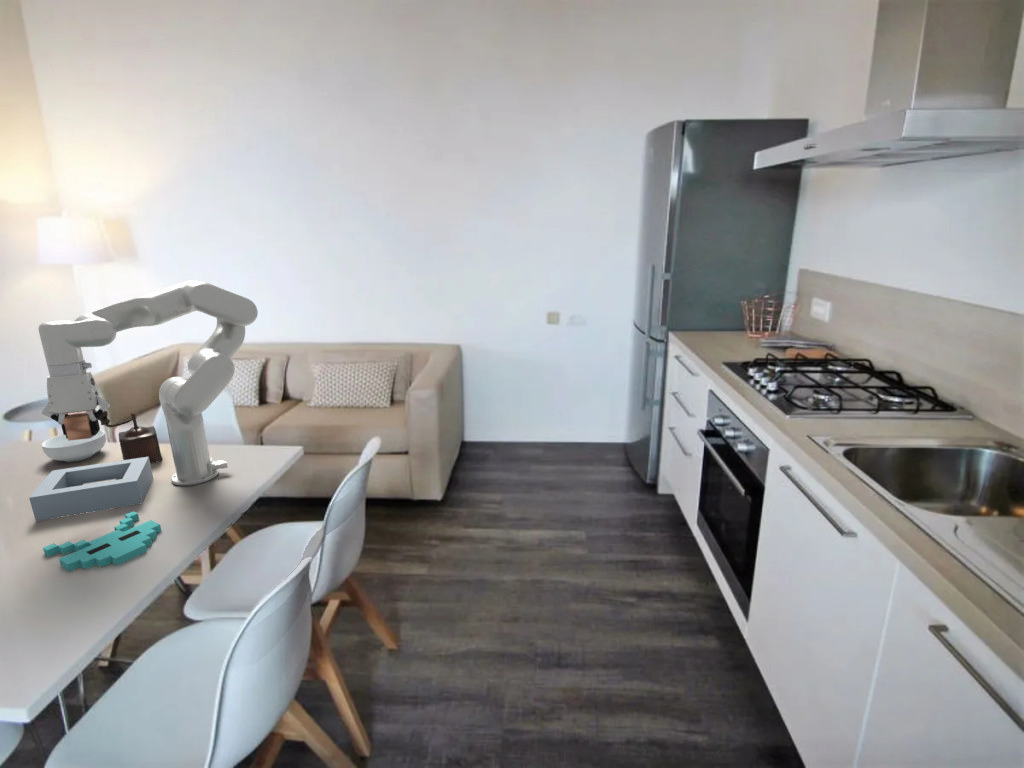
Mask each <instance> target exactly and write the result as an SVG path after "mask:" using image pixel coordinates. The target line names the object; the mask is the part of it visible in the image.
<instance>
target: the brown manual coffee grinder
mask: <svg viewBox="0 0 1024 768" xmlns="http://www.w3.org/2000/svg"><path fill="white" fill-rule="evenodd" d="M108 417H109V412H108V411H107V409H106V410H105V411H104V412H103V413H102V414H101V415H100V416H99V417H98V422H99V421H100V426H105V427H107V428H115V427H118V426H122V425H125V424H128V423H130V422H132V423H133V426H132V427H130V428H129V429H127V430H126V431H121V432H118V442H119V446H120V450H121V454H122V460H129V459H136V458H143V457H149V460H150V463H151V464H153V463H152V462H155V463H157V462H156V461H159V462H162V461H163V456H162V452H161V449H160V448H161V447H160V444H159V439H158V435H157V430H156V428H155V426H154V425H153V426H140V425H139V426H138V424H137V423H138V422H137V419H138V418H137V416H136V412H131V413H130V417H131V418H129V419H127V420H124V421H121V422H117V423H114V424H113V423H112V424H110V423H111V420H110V419H109V418H108ZM161 460H162V461H161Z"/></svg>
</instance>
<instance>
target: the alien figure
mask: <svg viewBox="0 0 1024 768" xmlns="http://www.w3.org/2000/svg"><path fill="white" fill-rule="evenodd" d="M139 516H140V515H139V514H138V512H136V511H130V512H129V513H126V514H124V519H121V520H119V524H118V525H116V526H114V527H113V529H114V531H112V532H108V533H107V534H105V535H102V536H99V537H96V538H95V539H92V540H90V541H87V540H86V539H82V540H79V541H77V542H74V543H72V542H71V541H66V542H64V543H61V544H59V545H58V544H56V543H55V542H54V543H51V544H49V545H45V546H44V547H42V550H43V554H44V555H46V556H47V557H49V558H50V557H51V556H54V555H56V554H59V553H60V554H62V555H63V556H62V557H59V563H60V566H61V567H63V568H64V569H66V570H67V571H68V572H71V571H73V570H74V571H75V570H76V569H78V568H82V569H84V570H88V569H89V568H92V567H94V566H98V567H100V568H103V567H106V566H107V565H109V564H114V565H115V566H118V565H121V564H122V563H125V562H127V561H129V560H132V559H134V558H136V557H138V556H139V555H142V554H145V553H147V552H148V548H147V547H150V546H152V545H153V541H152V540H154V539H157V538H158V536H157V533H160V532H162V527H161V524H159V522H156V521H154V520H152V519H150V520H147V521H145V522H143V523H141V524H137V525H136V526H135V522H136V520H137V521H139V520H140V517H139ZM138 519H139V520H138Z"/></svg>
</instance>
